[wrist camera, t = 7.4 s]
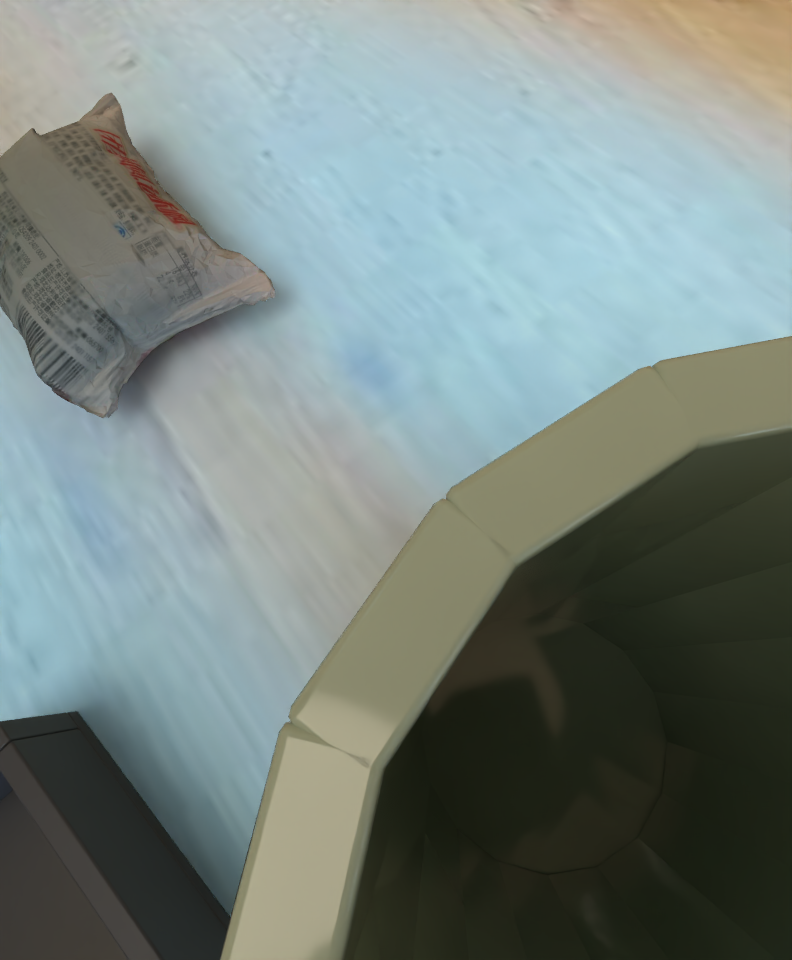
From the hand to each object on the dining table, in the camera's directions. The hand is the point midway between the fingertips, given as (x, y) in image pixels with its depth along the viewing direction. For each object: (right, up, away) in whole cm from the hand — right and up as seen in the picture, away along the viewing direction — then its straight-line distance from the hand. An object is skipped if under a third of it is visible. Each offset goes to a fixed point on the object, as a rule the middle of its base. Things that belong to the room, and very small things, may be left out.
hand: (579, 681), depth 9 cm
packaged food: (-14, +11, +18) cm, 25 cm away
